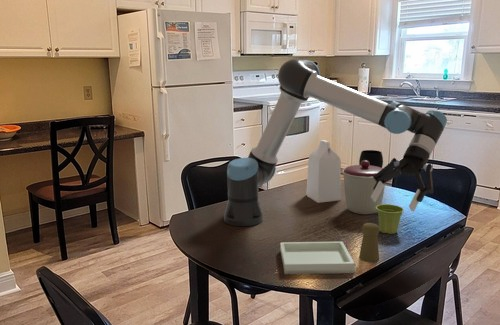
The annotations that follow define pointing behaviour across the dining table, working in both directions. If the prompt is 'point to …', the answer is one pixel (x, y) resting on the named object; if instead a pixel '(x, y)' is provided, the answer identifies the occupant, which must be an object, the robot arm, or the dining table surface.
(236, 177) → the robot arm
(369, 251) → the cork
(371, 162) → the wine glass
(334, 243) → the tray
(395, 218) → the plant pot
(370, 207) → the canister
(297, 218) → the dining table surface
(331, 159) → the milk
